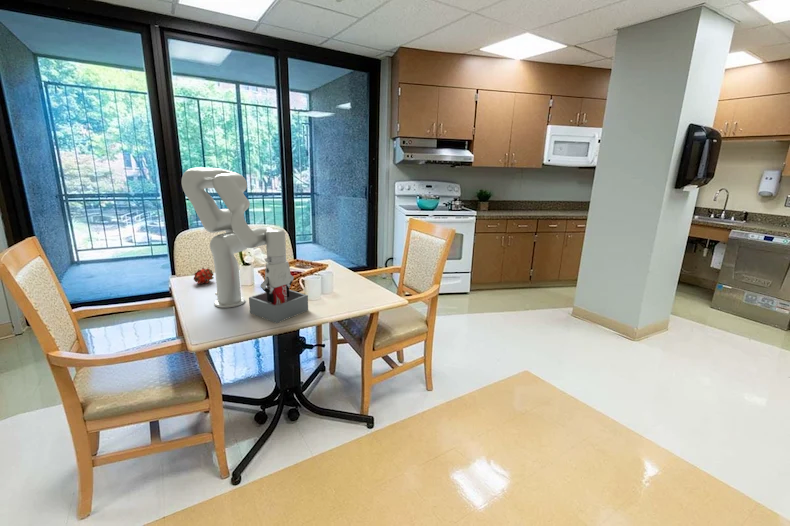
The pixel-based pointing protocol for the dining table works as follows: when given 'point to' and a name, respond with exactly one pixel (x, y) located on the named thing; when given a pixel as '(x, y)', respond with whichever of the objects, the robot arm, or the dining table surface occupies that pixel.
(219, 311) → the dining table surface
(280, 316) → the crate
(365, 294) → the dining table surface
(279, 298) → the soda can
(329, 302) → the dining table surface
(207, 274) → the dragon fruit
